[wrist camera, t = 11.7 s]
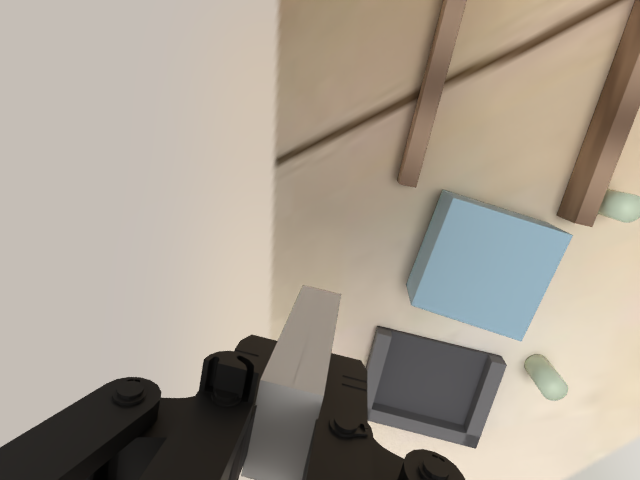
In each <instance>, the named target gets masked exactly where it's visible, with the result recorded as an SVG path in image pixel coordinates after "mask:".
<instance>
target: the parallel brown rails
mask: <svg viewBox="0 0 640 480" xmlns="http://www.w3.org/2000/svg"><path fill="white" fill-rule="evenodd" d="M466 1H467V0H443V4H442V8H441V12H440V16H439V19H438V23H437V27H436V31H435V35H434V39H433V43H432V47H431V50H430V54H429V58H428V62H427V66H426V70H425V74H424V78H423V82H422V85H421V89H420V93H419V97H418V101H417V105H416V109H415V113H414V116H413V120H412V124H411V128H410V132H409V136H408V140H407V144H406V148H405V151H404V155H403V159H402V163H401V167H400V171H399V175H398V179H397V181H398V182H399V184H402V185H406V186H411V187H415V188H416V186H417V182H418V179H419V175H420V171H421V168H422V164H423V160H424V156H425V153H426V149H427V145H428V142H429V138H430V134H431V131H432V127H433V123H434V120H435V116H436V112H437V108H438V105H439V101H440V97H441V94H442V90H443V86H444V83H445V79H446V75H447V72H448V68H449V64H450V60H451V57H452V53H453V49H454V46H455V42H456V38H457V35H458V31H459V27H460V23H461V20H462V16H463V12H464V9H465V5H466ZM639 106H640V0H635V3H634V6H633V8H632V11H631V14H630V17H629V19H628V22H627V25H626V28H625V30H624V33H623V36H622V39H621V41H620V44H619V47H618V49H617V52H616V55H615V58H614V60H613V63H612V66H611V69H610V71H609V74H608V77H607V80H606V82H605V85H604V88H603V90H602V93H601V96H600V99H599V101H598V104H597V107H596V110H595V112H594V115H593V118H592V121H591V123H590V126H589V129H588V131H587V134H586V137H585V140H584V142H583V145H582V148H581V151H580V153H579V156H578V159H577V162H576V164H575V167H574V170H573V172H572V175H571V178H570V181H569V183H568V186H567V189H566V192H565V194H564V197H563V200H562V203H561V205H560V208H559V211H558V213H557V216H559V217H561V218H564V219H566V220H569V221H571V222H573V223H576V224H581V225H585V226H590V227H592V226H593V224H594V221H595V219H596V216H597V213H598V211H599V208H600V206H601V203H602V201H603V198H604V196H605V193H606V190H607V188H608V185H609V183H610V180H611V178H612V175H613V173H614V170H615V167H616V165H617V162H618V160H619V157H620V155H621V152H622V150H623V147H624V145H625V142H626V139H627V137H628V134H629V132H630V129H631V127H632V124H633V122H634V119H635V116H636V114H637V111H638V109H639Z"/></svg>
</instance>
